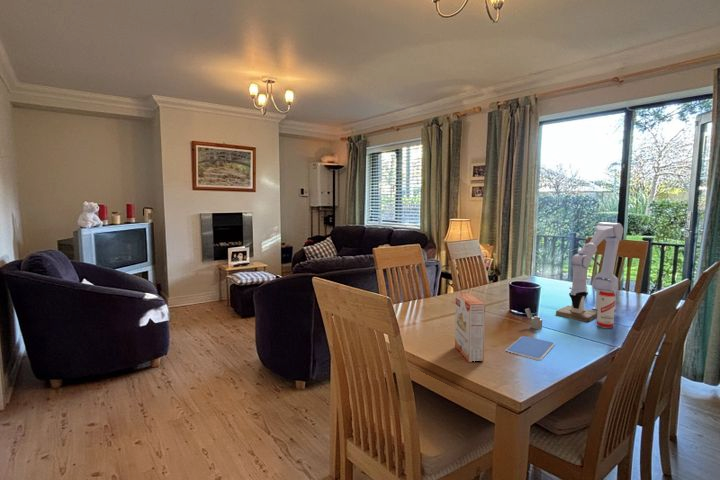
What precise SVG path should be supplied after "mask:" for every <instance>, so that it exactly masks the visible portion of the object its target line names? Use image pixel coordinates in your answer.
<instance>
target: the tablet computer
mask: <svg viewBox="0 0 720 480" xmlns="http://www.w3.org/2000/svg"><path fill="white" fill-rule="evenodd" d="M555 346H556V343H555V342H553V341H548V340H545V339H538V338H535V337H531V336H530V337H529V336H525V335H522V336H520V337H519V338H518V339H517V340H515V341H514V342H513V343H512V344H511V345H509V347H507V348H506V349H505V352H506V351H508V352H507V353H509V352H511V353H510V354H512V353H515V354H514V355H516V354H518V355H517V356H520V355H521V357H525V358H528V359H533V360H536V361H542V360H543V359H544V358H545V357H546V355H547V354H548V353H549V352H550V351H551V350H552V349H553V348H554V347H555Z"/></svg>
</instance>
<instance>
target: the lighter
mask: <svg viewBox="0 0 720 480" xmlns="http://www.w3.org/2000/svg"><path fill="white" fill-rule="evenodd" d="M524 312H525V314H526V316H527V318H528V319H531V320H530V329H534V330H535V329H536V330H540V331H542V330H543V319H542V318H541V317H540V316H538V315H534V316H533V314H532V312H531V309H530V308H529V307H528V308H525V309H524Z"/></svg>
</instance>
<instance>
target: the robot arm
mask: <svg viewBox="0 0 720 480" xmlns="http://www.w3.org/2000/svg"><path fill="white" fill-rule="evenodd" d="M623 233H624V227H623V225H622V224H621V223H620V222H604V221H600V222H598V223H597V225H596V226H595V233H594V234H593V236H592V238H591V239H590V241H589V242H587V243H585V244H584V245H583V246H582V247H581V249H580V250H579V251H578V253H576V254H574V255H572V257H571V259H570V264H571V269H572V283H571V284H572V285H571V286H570V287H569V289H570V292H569V294H568V295H569V297H570V299H571V305H572V304H573V308H576V309H578V308H579V305H580V301H581V299H582V297H583V296H585V297H584V301H585V300H586V298H587V296H588V294H589V292H588V286H587V280H588V277H587V276H588V268H589V267H590V265H591V264H592V263H591V262H592V260H593V256H594V255H595V254H596V253H597V251H598V248H597V247H598V246H599V245H600V244H601V243H602V242H603V241H604V240H605V242H606V243H605V248H604V254H603V259H602V263H601V264H602V265H601V270H600V272H599V273H597V274H595V276H594V279H593V281H592V282H591V283H592V288H593V290H594V291H595V303H594V304H595V305H594V306H593V307H592V308H591V310H594V311H597V308H598V294H599V292H600V290H612V291H614V294H616V292H618V290H619V278H618V277H617V276H616V275H615V274H614V271H615V266H616V265H615V264H616V261H617V260H616V259H617V255H618V250H619V245H620V241H621V240H622V239H623V235H624V234H623ZM616 309H617V308H616V307H615V310H616Z"/></svg>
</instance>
